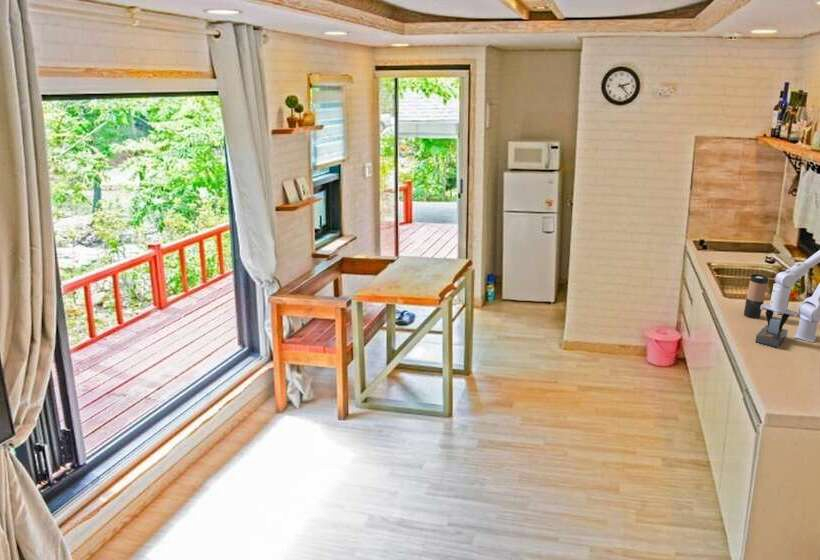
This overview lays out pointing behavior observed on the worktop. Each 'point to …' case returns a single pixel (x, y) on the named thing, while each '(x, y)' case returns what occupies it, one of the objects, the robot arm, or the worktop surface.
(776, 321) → the plug
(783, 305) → the robot arm
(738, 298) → the worktop surface
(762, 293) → the travel mug
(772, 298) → the syrup box
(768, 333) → the grey slotted block
